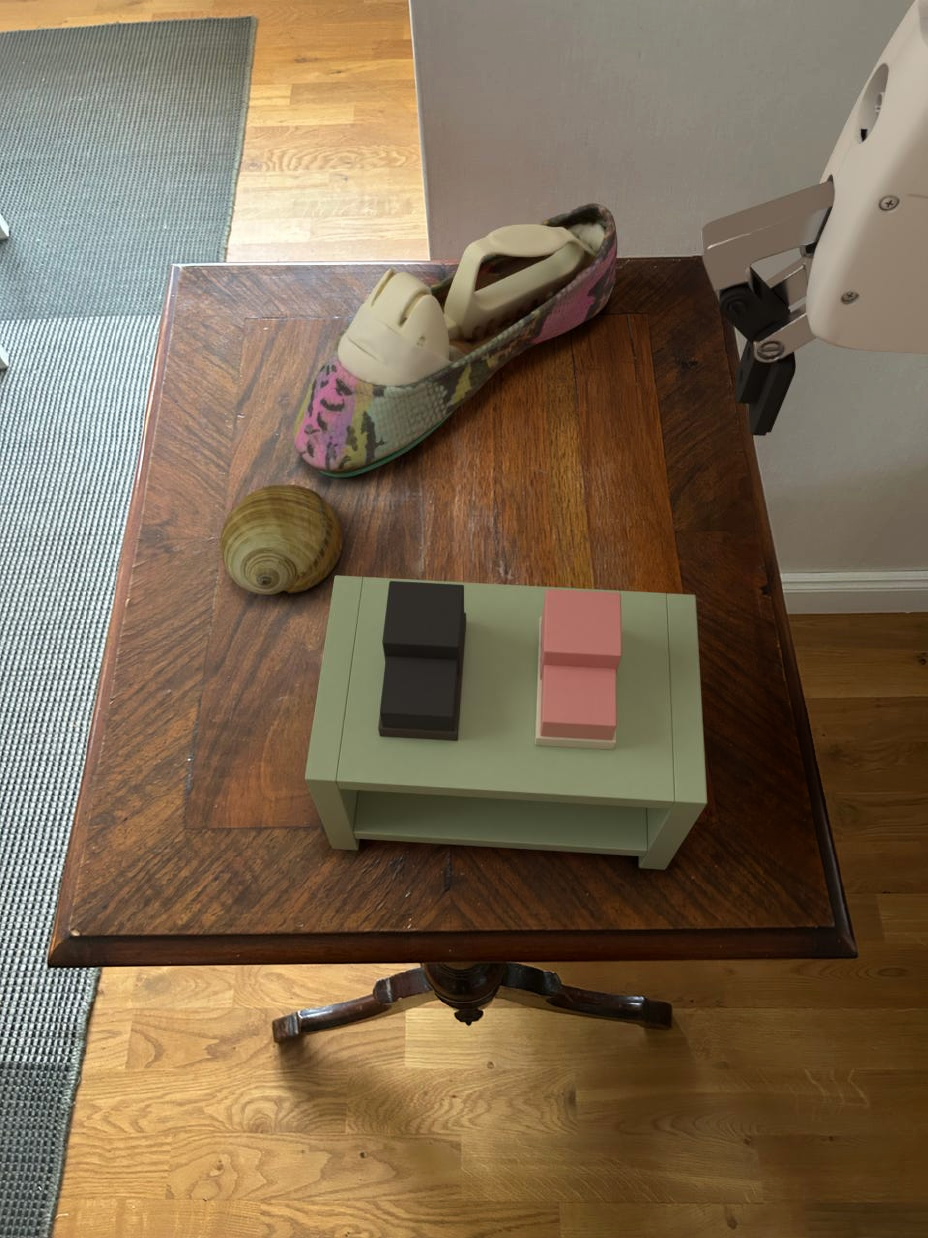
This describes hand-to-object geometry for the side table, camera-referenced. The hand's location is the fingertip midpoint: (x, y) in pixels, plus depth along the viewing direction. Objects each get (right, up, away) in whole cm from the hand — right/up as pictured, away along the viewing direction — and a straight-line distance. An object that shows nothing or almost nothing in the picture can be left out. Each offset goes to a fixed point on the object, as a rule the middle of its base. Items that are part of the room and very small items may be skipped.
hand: (876, 414), depth 41 cm
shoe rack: (-14, -17, +23) cm, 32 cm away
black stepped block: (-19, -11, +12) cm, 25 cm away
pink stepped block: (-11, -12, +12) cm, 20 cm away
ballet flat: (-17, +11, +39) cm, 44 cm away
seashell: (-29, -4, +31) cm, 43 cm away
